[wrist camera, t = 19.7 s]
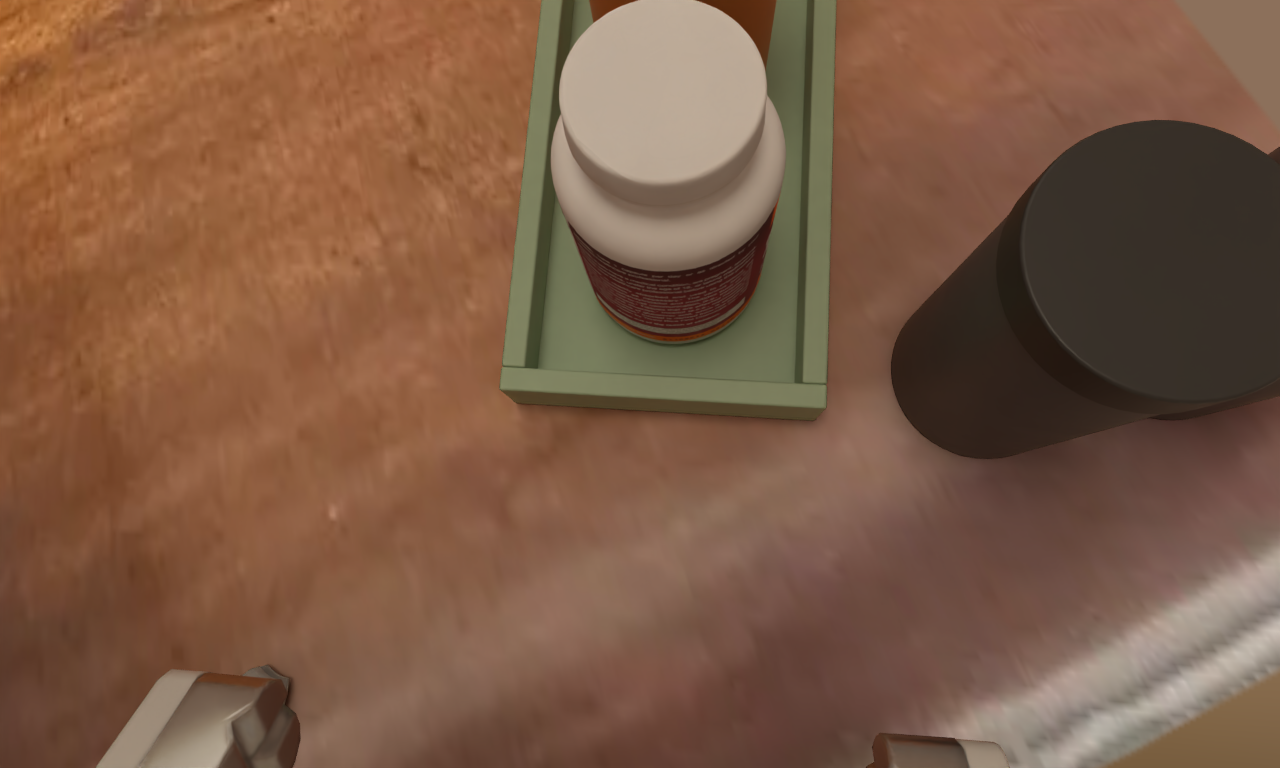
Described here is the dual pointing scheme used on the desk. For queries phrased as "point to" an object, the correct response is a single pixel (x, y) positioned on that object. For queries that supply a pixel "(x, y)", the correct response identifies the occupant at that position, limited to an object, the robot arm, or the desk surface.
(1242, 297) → the grey canister
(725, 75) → the pill bottle
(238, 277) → the desk surface
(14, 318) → the desk surface
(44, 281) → the desk surface
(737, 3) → the bottle
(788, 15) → the tray
